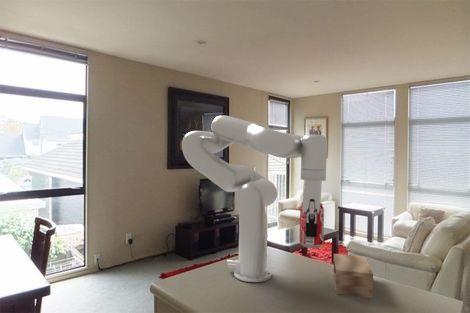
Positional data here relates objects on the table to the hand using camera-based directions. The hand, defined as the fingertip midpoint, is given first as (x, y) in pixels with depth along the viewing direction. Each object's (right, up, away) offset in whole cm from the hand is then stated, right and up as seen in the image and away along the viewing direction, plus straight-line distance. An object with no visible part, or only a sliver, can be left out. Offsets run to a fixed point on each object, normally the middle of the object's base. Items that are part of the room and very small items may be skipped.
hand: (311, 233), depth 95 cm
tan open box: (+13, -17, +3) cm, 22 cm away
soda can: (0, -4, 0) cm, 4 cm away
